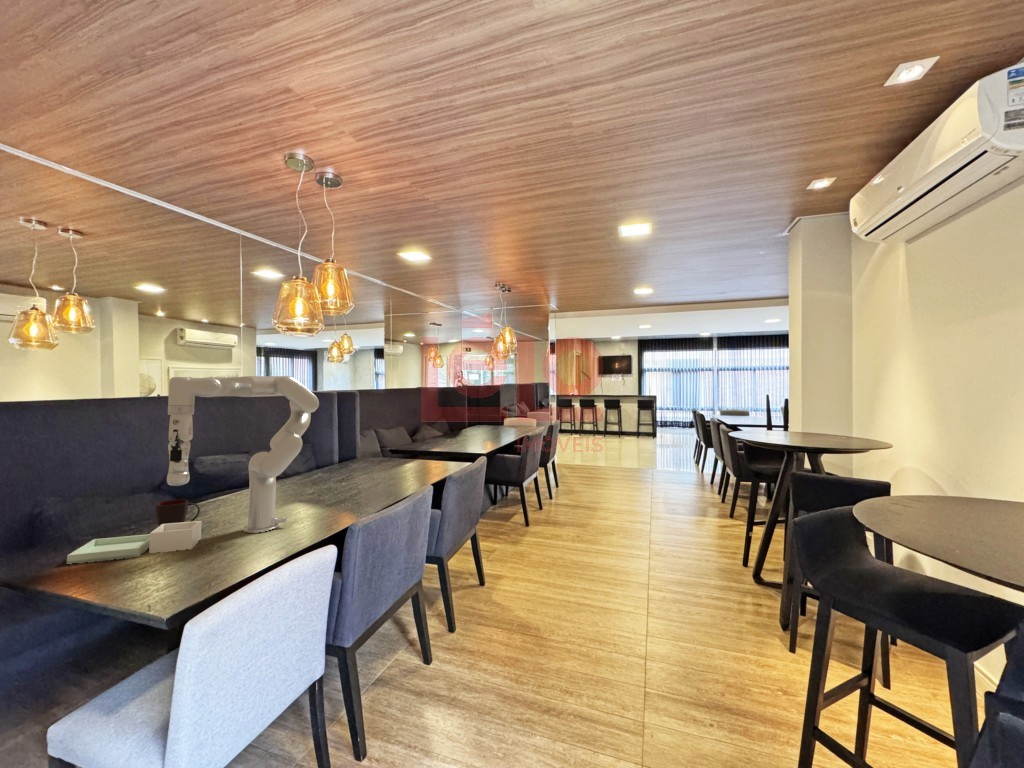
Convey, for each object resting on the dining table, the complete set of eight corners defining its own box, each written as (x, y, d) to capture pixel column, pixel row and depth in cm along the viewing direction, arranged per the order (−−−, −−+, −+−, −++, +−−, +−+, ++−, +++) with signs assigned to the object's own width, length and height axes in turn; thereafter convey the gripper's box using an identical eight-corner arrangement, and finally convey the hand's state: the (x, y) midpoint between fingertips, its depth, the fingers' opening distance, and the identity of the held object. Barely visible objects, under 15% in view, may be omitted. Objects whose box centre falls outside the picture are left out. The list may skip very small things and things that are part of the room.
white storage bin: (200, 539, 157) (201, 520, 157) (191, 549, 146) (192, 529, 147) (161, 543, 152) (162, 524, 152) (149, 553, 142) (150, 533, 142)
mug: (154, 532, 164) (156, 501, 164) (198, 525, 173) (199, 496, 173) (154, 538, 156) (155, 507, 157) (199, 531, 165) (201, 501, 166)
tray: (157, 541, 153) (157, 533, 153) (138, 557, 139) (139, 548, 139) (93, 547, 146) (93, 539, 146) (66, 564, 131) (67, 555, 132)
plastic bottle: (194, 483, 153) (196, 430, 154) (177, 487, 146) (180, 431, 147) (178, 483, 154) (180, 429, 154) (161, 487, 147) (163, 431, 148)
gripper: (186, 411, 144) (183, 462, 144) (200, 409, 160) (198, 456, 159) (159, 411, 141) (156, 463, 141) (176, 409, 157) (174, 456, 156)
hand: (178, 459), depth 150 cm, fingers closed on plastic bottle, 6 cm apart
